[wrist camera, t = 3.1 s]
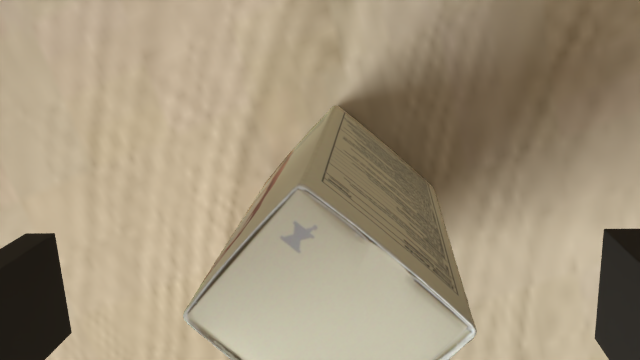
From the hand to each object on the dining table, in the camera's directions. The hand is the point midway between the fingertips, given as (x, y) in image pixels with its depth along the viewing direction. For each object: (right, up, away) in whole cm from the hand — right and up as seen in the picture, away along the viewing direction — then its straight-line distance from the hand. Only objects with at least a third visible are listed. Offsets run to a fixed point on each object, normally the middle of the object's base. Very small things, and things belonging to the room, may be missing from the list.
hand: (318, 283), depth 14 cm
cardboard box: (+1, +2, +8) cm, 9 cm away
